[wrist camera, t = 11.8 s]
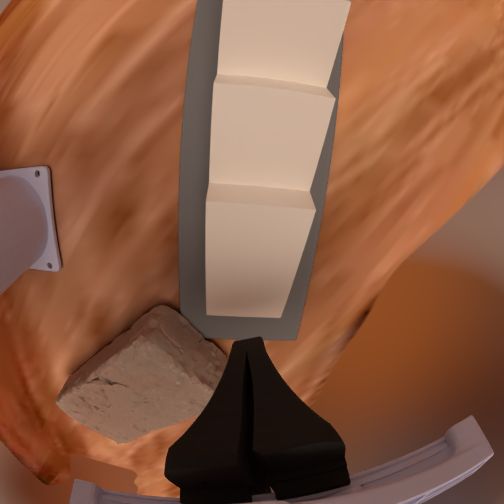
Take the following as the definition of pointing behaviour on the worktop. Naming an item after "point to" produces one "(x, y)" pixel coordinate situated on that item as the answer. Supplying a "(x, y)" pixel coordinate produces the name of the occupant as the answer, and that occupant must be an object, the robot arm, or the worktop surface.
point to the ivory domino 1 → (281, 39)
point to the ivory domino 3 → (253, 247)
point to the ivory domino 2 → (267, 131)
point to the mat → (196, 188)
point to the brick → (145, 378)
